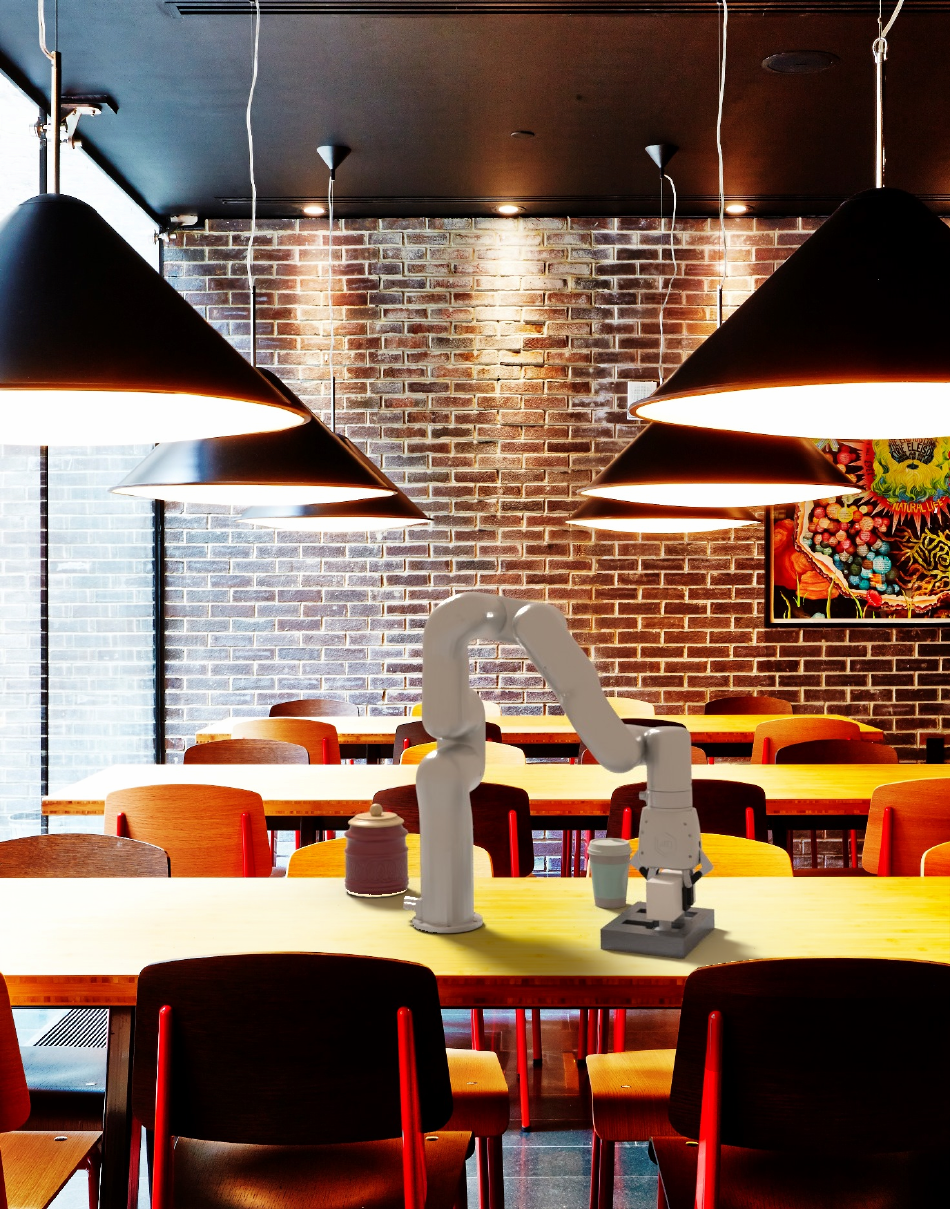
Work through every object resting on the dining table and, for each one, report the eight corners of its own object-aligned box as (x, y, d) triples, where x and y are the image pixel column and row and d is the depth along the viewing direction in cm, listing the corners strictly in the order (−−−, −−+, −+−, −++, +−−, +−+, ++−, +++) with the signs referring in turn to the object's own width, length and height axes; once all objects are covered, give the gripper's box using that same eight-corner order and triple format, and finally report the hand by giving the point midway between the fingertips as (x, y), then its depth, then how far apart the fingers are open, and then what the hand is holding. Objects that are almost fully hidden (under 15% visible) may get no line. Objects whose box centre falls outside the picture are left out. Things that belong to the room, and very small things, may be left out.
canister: (414, 884, 230) (413, 799, 231) (401, 899, 217) (400, 809, 218) (353, 883, 232) (353, 798, 233) (337, 898, 219) (336, 808, 220)
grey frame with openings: (600, 948, 183) (600, 929, 183) (637, 919, 201) (637, 901, 201) (683, 958, 177) (683, 938, 177) (714, 927, 195) (714, 909, 195)
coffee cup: (631, 911, 206) (630, 846, 207) (585, 909, 208) (584, 845, 208) (634, 900, 215) (633, 838, 215) (590, 898, 216) (589, 836, 217)
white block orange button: (647, 940, 182) (645, 878, 183) (670, 919, 195) (669, 861, 195) (673, 943, 180) (672, 880, 181) (696, 922, 193) (694, 863, 193)
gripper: (615, 800, 188) (617, 908, 188) (713, 806, 181) (715, 918, 181) (628, 794, 195) (630, 898, 195) (724, 799, 188) (726, 907, 187)
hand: (671, 906), depth 188 cm, fingers closed on white block orange button, 4 cm apart
